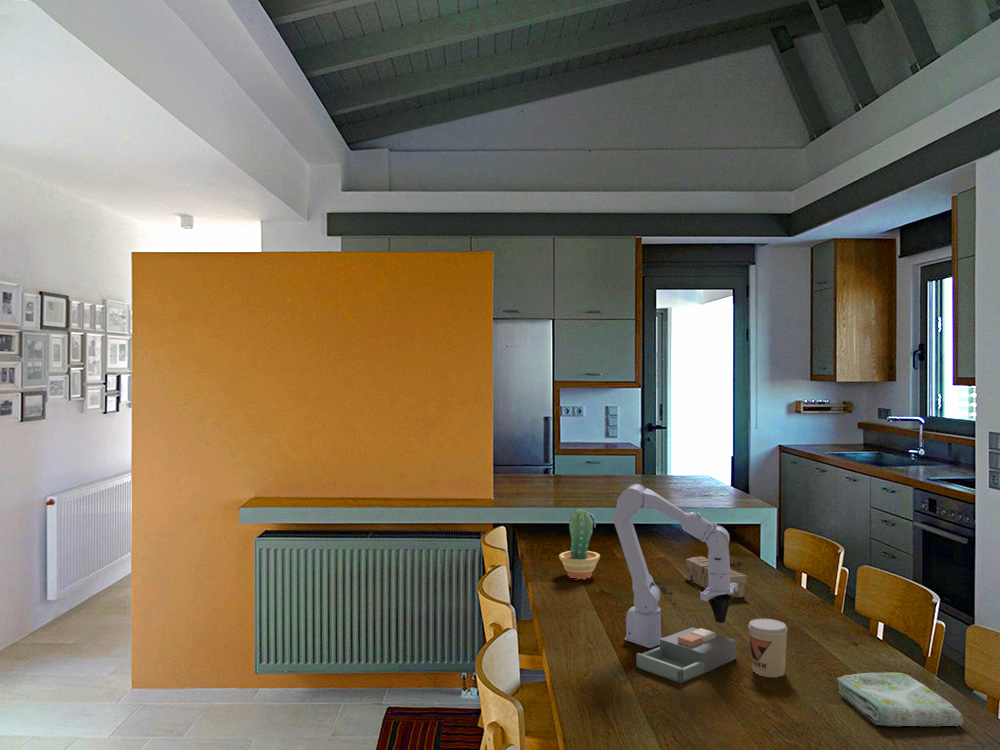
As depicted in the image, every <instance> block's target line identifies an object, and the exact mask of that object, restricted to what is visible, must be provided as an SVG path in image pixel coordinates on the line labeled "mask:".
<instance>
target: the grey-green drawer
mask: <svg viewBox="0 0 1000 750" xmlns="http://www.w3.org/2000/svg"><path fill="white" fill-rule="evenodd" d="M635 655H636V657H635V658H636V668H638V669H641V670H643V671H646V672H649V673H652V674H654V675H657V676H659V677H662V678H665V679H668V680H670V681H672V682H675V683H679V684H682V683H683V684H684V683H685V682H688V681H690V680H692V679H695V678H698V677H699V676H701V675H704V674H705V673H704V661H701V660H700V661H698V662H696V663H693V664H691V665H688V666H686V665H683V664H681V663H678V662H675V661H672V660H669V659H666V658H663V648H662V647H660V646H658V647H654V648H652V649H651V650H650V649H649V650H648V651H644V652H643V653H641V652H636V654H635Z"/></svg>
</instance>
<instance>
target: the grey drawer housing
mask: <svg viewBox="0 0 1000 750" xmlns="http://www.w3.org/2000/svg"><path fill="white" fill-rule="evenodd" d="M697 629H698V628H695V627H693V626H691V627H689V628H687V629H685V630H680V631H678V632H675V633H672V634H670V635H668V636H665V637H661V638H662V639H660V645H659V647H662V648H663V658H666V659H669V660H672V661H675V662H678V663H681V664H683V665H686V666H688V665H691V664H693V663H696V662H698V661H700V660H701V661H704V674H706V673H708V672H711V671H713V670H715V669H717V667H718V668H720V667H721V665H722V666H724V665H726V664H725V663H727V664H728V662H729V663H731V662H733V661H732V660H734V659H736V660H737V640H736V639H733V638H730V637H726V636H722V635H719V634H716V633H715V638H714V639H711V640H709V641H706V642H703V643H701V644H699V645H696V646H693V647H690V646H687V645H684V644H681V643H678V637H679V636H681V635H684V634H687V633H690V634H691V632H692V631H695V630H697ZM730 661H731V662H730ZM734 661H735V660H734ZM723 664H724V665H723ZM719 666H720V667H719Z"/></svg>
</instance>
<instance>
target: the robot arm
mask: <svg viewBox="0 0 1000 750" xmlns="http://www.w3.org/2000/svg"><path fill="white" fill-rule="evenodd" d="M616 500H617V501H616V506H615V511H614V513H613V523H614V527H615V530H616V533H617V535H618V539H619V543H620V545H621V549H622V551H623V554H624V558H625V561H626V564H627V567H628V570H629V573H630V576H631V579H632V591H633V605H634V606H631V607H630V608H629V609H628V610H627V613H626V616H625V626H626V627H625V629H626V630H625V631H626V632H625V633H626V634H625V635H626V636H625V637H624V640H625V641H627V642H630V643H634V644H636V645H639V646H643V647H645V648H648V649H653V648H656V647H657V646H660V639H662V638H663V637H662V627H661V624H662V623H661V621H662V619H661V618H662V617H661V613H662V612H661V607H660V606H659V601H660V600H661V596H662V594H661V593H662V592H661V590H660V588H659V586H658V585H657V584H656V583H655V581H654V578H653V576H652V574H650V572H649V570H648V566H647V563H646V559H645V556H644V554H643V551H642V548H641V545H640V541H639V537H638V534H637V531H636V529H635V525H634V523H633V519H634V517H635V515H636V514H637V512H638V510H640V508H641V507H642V506H643V508H642V510H656V511H658V512H660V513H661V514H663V515H665V516H667V517H669V518H670V519H672V520H674V521H676V522H677V523H680V526H681V528H682V530H683V531H684V532H686V533H688V534H689V535H691V536H692V537H694V538H696V540H697V539H698V540H699V541H701V542H703V543H706V546H707V547H708V554H707V559H708V582H709V587H708V588H707V589H704V591H702V592H700V594H699V595H700V596H699V597H700V601H704V602H708V603H709V605H710V608H711V610H712V613H713V616H714V620H715V622H716V623H720V624H724V623H725V622H726V619H727V614H728V610H729V607H730V605H731V603H732V602H733V599H734V598H733V596H731V595H728V594H733V593H734V591H738V584H736V583H730V569H731V567H730V566H731V565H730V564H731V562H730V560H731V559H730V549H729V545H730V544H729V543H730V538H731V537H730V533H729V532H728V530H727V529H726V528H725V527H724V526H722V525H718V524H717V523H716V522H710V521H709V520H708V519H705V518H704V517H702V513H700V512H698V511H697V512H696V513H695V512H694V511H691V512H685V511H684V510H682V509H681V508H679V507H678V506H676V505H674V503H672V502H670V501H668V500H667V499H666V498H664V497H663V496H661V495H660V494H658V493H657V492H655V491H653V490H652V489H650V488H646V487H645V486H644V485H642V484H639V483H633V484H631V485H630V486H628V487H627V488H626V489H624V490H623V491H622V492H621V494H620V495H619V496H618V498H617V499H616Z"/></svg>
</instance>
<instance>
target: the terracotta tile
mask: <svg viewBox="0 0 1000 750" xmlns="http://www.w3.org/2000/svg"><path fill="white" fill-rule="evenodd" d="M678 643H681V644H684V645H687V646H690V647H693V646H696V645H699V644H701V643H703V638H702V637H700V636H697V635H694V634H690V633H687V634H684V635H681V636H679V637H678Z"/></svg>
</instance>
